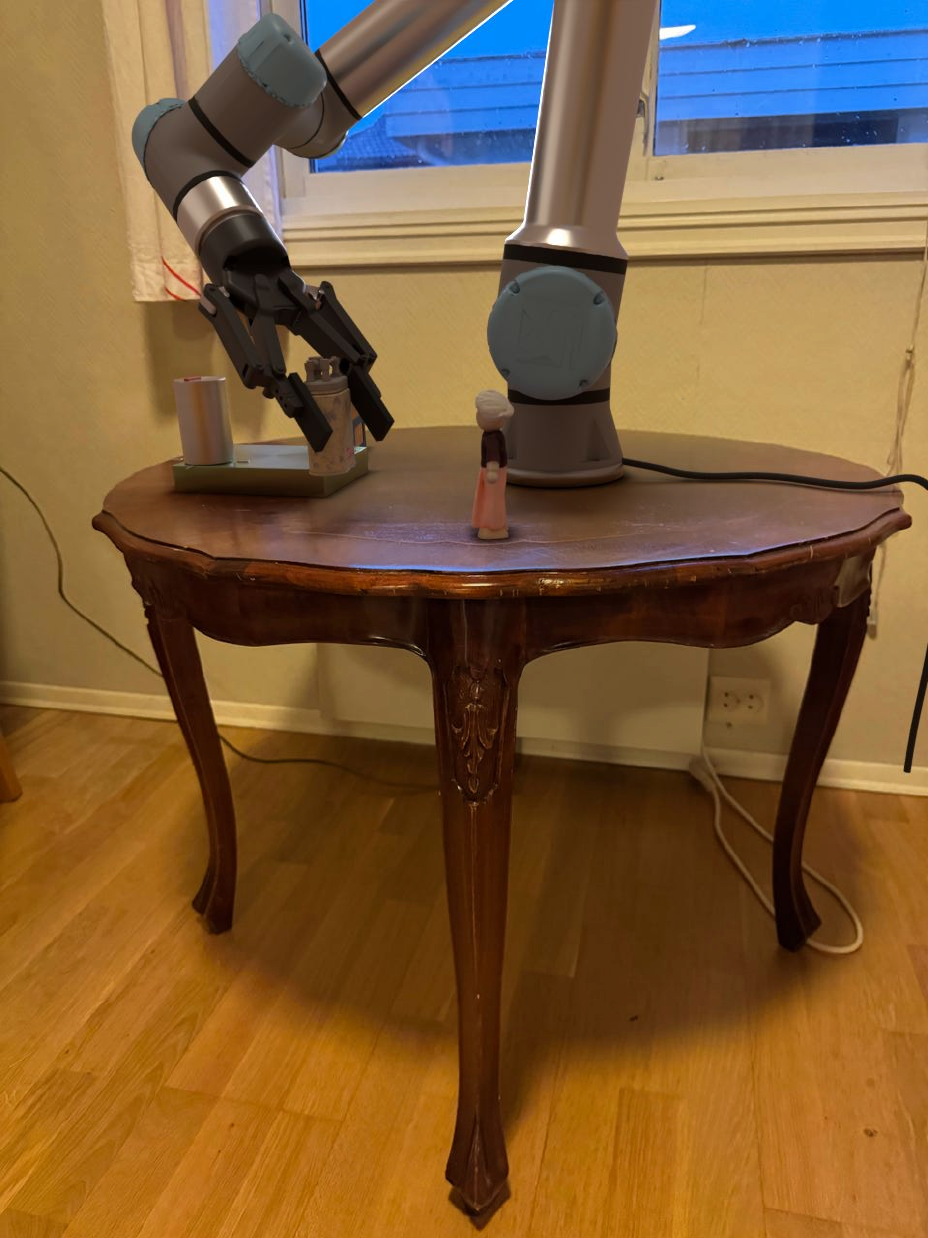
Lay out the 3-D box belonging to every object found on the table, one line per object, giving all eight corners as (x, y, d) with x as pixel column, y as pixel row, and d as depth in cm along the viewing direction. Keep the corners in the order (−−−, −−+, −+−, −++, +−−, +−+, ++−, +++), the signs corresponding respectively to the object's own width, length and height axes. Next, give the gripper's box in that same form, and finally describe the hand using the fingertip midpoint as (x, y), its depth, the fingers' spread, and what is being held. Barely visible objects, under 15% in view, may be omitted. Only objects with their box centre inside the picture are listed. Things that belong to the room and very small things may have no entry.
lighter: (323, 463, 84) (313, 353, 80) (362, 462, 83) (354, 352, 80) (305, 478, 77) (294, 360, 74) (347, 477, 77) (338, 359, 73)
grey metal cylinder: (200, 455, 103) (189, 373, 99) (243, 456, 101) (234, 373, 98) (174, 464, 98) (162, 378, 94) (219, 465, 96) (209, 378, 93)
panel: (368, 471, 107) (367, 445, 106) (318, 501, 93) (315, 471, 92) (221, 467, 112) (218, 442, 111) (151, 495, 97) (146, 466, 96)
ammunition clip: (354, 461, 113) (348, 365, 109) (340, 461, 114) (333, 365, 109) (366, 447, 123) (361, 358, 119) (353, 447, 124) (347, 359, 119)
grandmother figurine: (467, 524, 82) (464, 385, 78) (508, 522, 82) (507, 383, 78) (475, 547, 75) (472, 395, 71) (520, 545, 75) (520, 393, 71)
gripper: (306, 273, 91) (418, 448, 85) (129, 276, 78) (248, 480, 73) (332, 213, 85) (454, 395, 80) (146, 206, 73) (276, 421, 68)
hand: (355, 436), depth 77 cm, fingers closed on lighter, 6 cm apart
